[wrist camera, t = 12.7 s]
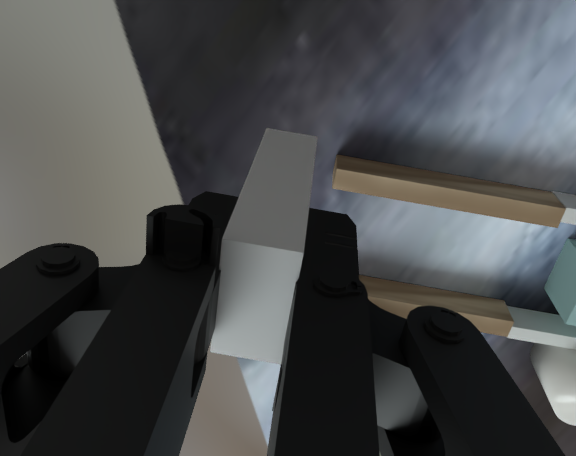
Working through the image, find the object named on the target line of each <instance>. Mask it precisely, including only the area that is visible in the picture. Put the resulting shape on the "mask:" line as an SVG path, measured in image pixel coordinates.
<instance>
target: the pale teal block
mask: <svg viewBox="0 0 576 456" xmlns="http://www.w3.org/2000/svg"><path fill="white" fill-rule="evenodd" d="M544 289H545V291H546V293H547V294H548V296H549V298H550V299H551V301H552V303H553V304H554V306H555V308H556V309H557V311H558V313H559V314H560V316H561V318H562V319H563V321H564V323H565V324H567V325H573V326H576V240H574V239H569V238H567V240H566V242H565V244H564V246H563V249H562V251H561V253H560V255H559V257H558V259H557V261H556V263H555V265H554V267H553V270H552V272H551V274H550V276H549V278H548V280H547V282H546V284H545V286H544Z"/></svg>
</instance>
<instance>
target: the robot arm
mask: <svg viewBox="0 0 576 456" xmlns="http://www.w3.org/2000/svg"><path fill="white" fill-rule="evenodd" d="M316 145H317V137H315V136H310V135H304V134H298V133H292V132H287V131H281V130H275V129H270V128H267V129H266V131H265V134H264V136H263V138H262V141H261V143H260V146H259V148H258V151H257V153H256V156H255V158H254V161H253V163H252V166H251V168H250V171H249V173H248V176H247V178H246V181H245V183H244V186H243V188H242V191H241V193H240V196H239V197H235V196H230V195H224V194H218V193H213V192H207V191H206V192H204V193H202V194H200V195H198V196H197V197H195V198H193V199H192V200H191V202H190V204H189V205H169V206H163V207H160V208H158V209H154V210H153V211H152V212H150V213H149V214H148V215H147V231H146V232H147V233H146V234H147V235H146V255H145V257H144V258H143V260H142V261H141V263H140V264H138V265H134V266H124V267H99V261H98V257H97V256H96V255H95V253H94V252H93V251H91V250H89V249H88V248H86V247H84V246H79V245H74V244H67V243H63V244H62V243H57V244H51V245H46V246H41V247H38V248H36V249H33V250H31V251H29V252H27V253H25V254H24V255H22V256H20V257H19V258H17V259H15V260H14V261H12V262H11V263H9V264H7V265H6V266H4V267H3V268H1V269H0V456H179V453H180V450H181V447H182V444H183V441H184V438H185V434H186V431H187V428H188V425H189V422H190V418H191V415H192V412H193V409H194V406H195V402H196V399H197V396H198V392H199V389H200V386H201V383H202V380H203V377H204V374H205V370H206V359H207V351H208V348H209V345H210V342H211V350H210V352H213V353H218V354H224V355H230V356H235V357H241V358H247V359H252V360H258V361H264V362H269V363H275V364H281V368H280V373H279V378H278V383H277V388H276V393H275V399H274V404H273V409H272V411H273V417H272V424H271V431H270V438H269V444H268V451H267V456H380V454H381V456H565V455H564V453H563V452H562V450H561V449H560V447H559V446H558V445H557V443H556V442H555V440H554V439H553V437H552V436H551V434H550V433H549V431H548V430H547V429H546V427H545V426H544V424H543V423H542V421H541V420H540V418H539V417H538V415H537V414H536V413H535V411H534V410H533V408H532V407H531V405H530V404H529V402H528V401H527V399H526V398H525V397H524V395H523V394H522V392H521V391H520V389H519V388H518V386H517V385H516V383H515V382H514V381H513V379H512V378H511V376H510V375H509V373H508V372H507V370H506V369H505V367H504V366H503V365H502V363H501V362H500V360H499V359H498V357H497V356H496V354H495V353H494V351H493V350H492V349H491V347H490V346H489V344H488V343H487V341H486V340H485V338H484V337H483V335H482V334H481V333H480V331H479V330H478V329H477V328H476V327H475V326H474V324H473V323H472V322H471V321H470V320H468V319H467V318H465V317H463V316H462V315H460V314H459V313H457V312H455V311H452V310H449V309H447V308H444V307H437V306H431V305H428V306H420V307H417V308H415V309H413V310H411V311H410V312H409V314H408V316H407V319H405V318H403V317H400V316H398V315H395V314H393V313H390V312H388V311H386V310H384V309H382V308H380V307H378V306H377V305H375V304H374V303H372V302H371V301H370V300H369V299H368V293H367V290H366V288H365V285H364V284H363V283H362V282H361V281H360V280H359V267H358V250H357V233H356V225H355V224H354V223H353V221H352V220H351V219H350V217H349V216H348V215H347V214H341V213H335V212H330V211H324V210H318V209H313V208H309V204H310V196H311V187H312V179H313V171H314V162H315V154H316ZM211 339H212V340H211ZM25 353H26V354H25ZM24 354H25V355H24ZM19 358H20V359H19ZM18 359H19V360H18ZM379 451H380V452H379Z"/></svg>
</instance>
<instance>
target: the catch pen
mask: <svg viewBox="0 0 576 456" xmlns="http://www.w3.org/2000/svg"><path fill="white" fill-rule="evenodd" d="M552 193H553V194H554V195H555V197H556V198H557V199H558V200H559V201H560V202H561V204H562V205H563V206H564V207H565V208H566V210H565V213H564V215H563V217H562V219H561V221H560V222H563V223H568V224H574V225H576V195H573V194H567V193H562V192H556V191H552ZM507 307H508V310H509V312H510V314H511V316H512V318H513V320H514V324H513V326H512V328H511V330H510V332H509V334H508V337H507V338H512V339H517V340H523V341H529V342H534V343H540V344H546V345H551V346H557V347H563V348H568V349H574V350H576V326H573V325H567V324H565V323H564V321H563V319H562V318H561V316H560V315H556V314H551V313H545V312H539V311H534V310H528V309H522V308H517V307H511V306H507Z"/></svg>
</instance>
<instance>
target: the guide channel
mask: <svg viewBox="0 0 576 456" xmlns="http://www.w3.org/2000/svg"><path fill="white" fill-rule="evenodd" d="M332 188H333V189H338V190H344V191H350V192H356V193H361V194H367V195H373V196H378V197H384V198H390V199H396V200H401V201H407V202H413V203H418V204H424V205H430V206H435V207H441V208H447V209H453V210H458V211H464V212H470V213H475V214H481V215H487V216H493V217H498V218H504V219H510V220H515V221H521V222H527V223H532V224H538V225H544V226H550V227H555V228H558V226H559V223H560V221H561V219H562V217H563V215H564V213H565V210H566V208H565V207H564V206H563V205H562V204H561V202H560V201H559V200H558V199H557V198H556V197H555V195H554V194H553V193H552V192H549V191H543V190H537V189H532V188H526V187H520V186H514V185H509V184H503V183H497V182H492V181H486V180H480V179H474V178H469V177H463V176H457V175H452V174H446V173H440V172H434V171H429V170H423V169H417V168H412V167H406V166H400V165H394V164H389V163H383V162H377V161H372V160H366V159H360V158H354V157H349V156H343V155H337V156H336V161H335V165H334V170H333V185H332ZM359 280H360V281H361V282H362V283H363V284H364V285H365V288H366V290H367V293H368V299H369V300H370V301H371V302H372V303H374V304H375V305H377V306H378V307H380V308H382V309H384V310H386V311H388V312H390V313H393V314H395V315H398V316H400V317H403V318H405V319H407V316H408V314H409V312H410V311H411V310H413V309H415V308H417V307H420V306H428V305H431V306H437V307H444V308H447V309H449V310H452V311H455V312H457V313H459V314H460V315H462V316H463V317H465V318H467V319H468V320H470V321H471V322H472V323H473V324H474V326H475V327H476V328H477V329H478V330H479V331H480V332H483V333H489V334H495V335H500V336H506V337H508V334H509V332H510V330H511V328H512V326H513V324H514V320H513V318H512V316H511V314H510V312H509V310H508V307H507V305H506V303H505V301H504V300H499V299H493V298H488V297H482V296H476V295H471V294H465V293H459V292H454V291H448V290H442V289H436V288H431V287H425V286H419V285H414V284H408V283H402V282H397V281H391V280H385V279H380V278H374V277H368V276H363V275H359Z"/></svg>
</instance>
